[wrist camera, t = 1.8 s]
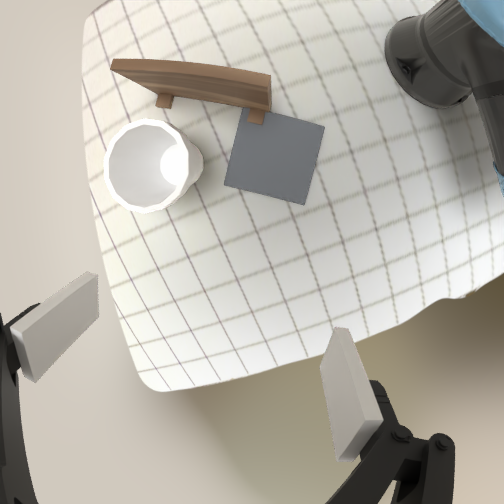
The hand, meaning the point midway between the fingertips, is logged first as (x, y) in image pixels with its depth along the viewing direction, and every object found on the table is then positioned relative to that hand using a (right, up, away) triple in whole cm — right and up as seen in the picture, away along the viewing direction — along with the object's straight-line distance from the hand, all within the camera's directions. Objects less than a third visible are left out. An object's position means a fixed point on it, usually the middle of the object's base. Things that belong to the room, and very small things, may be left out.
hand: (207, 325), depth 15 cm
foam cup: (-7, +16, +24) cm, 30 cm away
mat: (+5, +17, +23) cm, 29 cm away
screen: (-3, +25, +21) cm, 33 cm away
